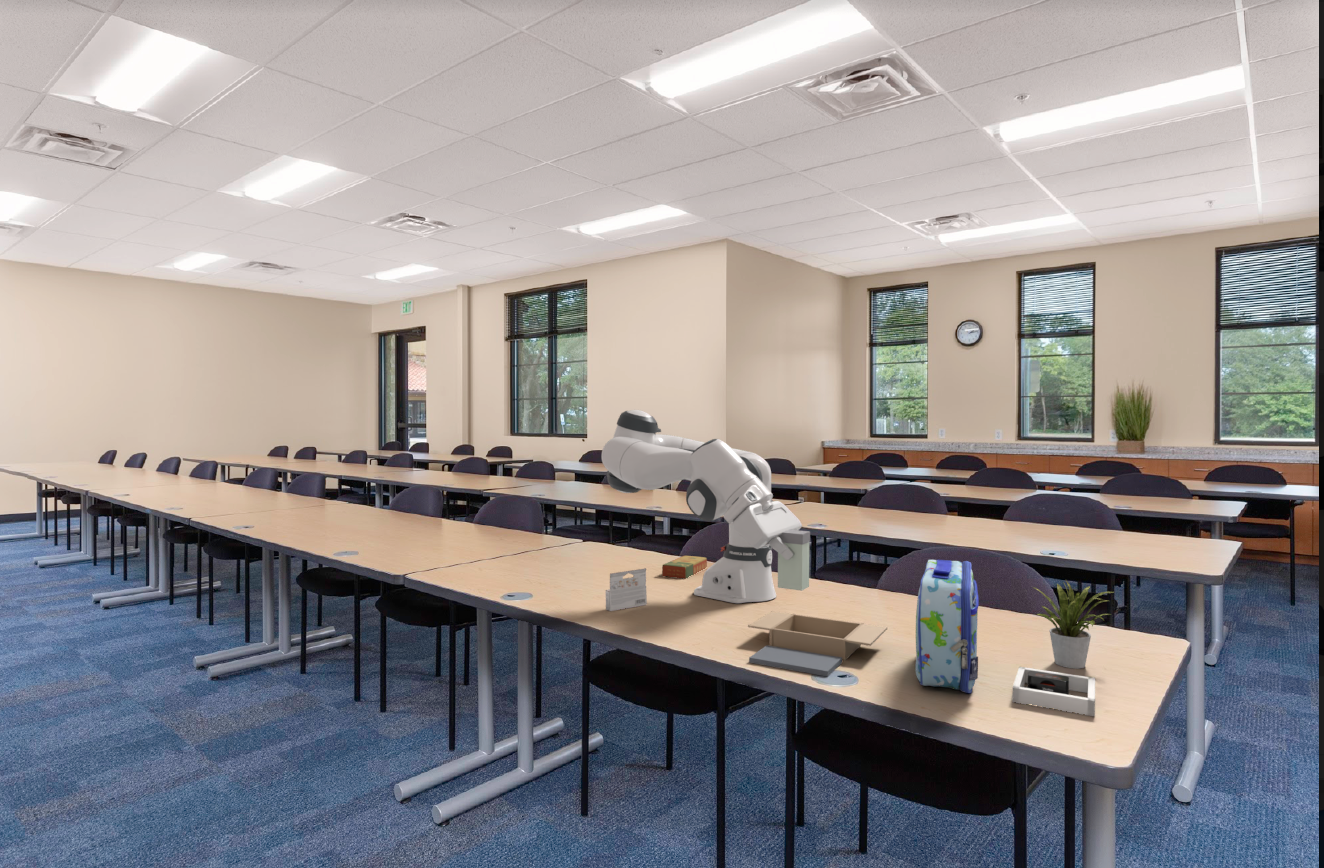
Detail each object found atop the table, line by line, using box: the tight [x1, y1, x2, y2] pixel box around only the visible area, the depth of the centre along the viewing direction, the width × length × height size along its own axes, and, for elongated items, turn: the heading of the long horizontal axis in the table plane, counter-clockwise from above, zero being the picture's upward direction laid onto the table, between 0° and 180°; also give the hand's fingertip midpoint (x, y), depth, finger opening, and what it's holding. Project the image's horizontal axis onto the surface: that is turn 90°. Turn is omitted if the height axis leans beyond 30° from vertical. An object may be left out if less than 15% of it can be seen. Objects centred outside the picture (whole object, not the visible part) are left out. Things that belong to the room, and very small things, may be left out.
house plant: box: [1032, 580, 1114, 670], centre depth 141 cm, size 14×14×16 cm
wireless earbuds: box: [1024, 671, 1070, 695], centre depth 127 cm, size 5×7×3 cm, turn 60°
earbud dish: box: [1011, 666, 1096, 717], centre depth 126 cm, size 12×12×2 cm
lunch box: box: [915, 559, 980, 694], centre depth 137 cm, size 26×11×21 cm, turn 157°
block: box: [777, 529, 811, 591], centre depth 144 cm, size 5×4×11 cm
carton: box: [661, 555, 708, 580], centre depth 229 cm, size 8×16×4 cm, turn 153°
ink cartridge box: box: [604, 567, 648, 612], centre depth 188 cm, size 2×11×10 cm, turn 123°
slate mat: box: [748, 644, 843, 677], centre depth 145 cm, size 16×9×1 cm, turn 59°
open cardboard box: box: [747, 610, 888, 661], centre depth 156 cm, size 26×14×4 cm, turn 59°
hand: (796, 555), depth 144 cm, fingers closed on block, 4 cm apart
